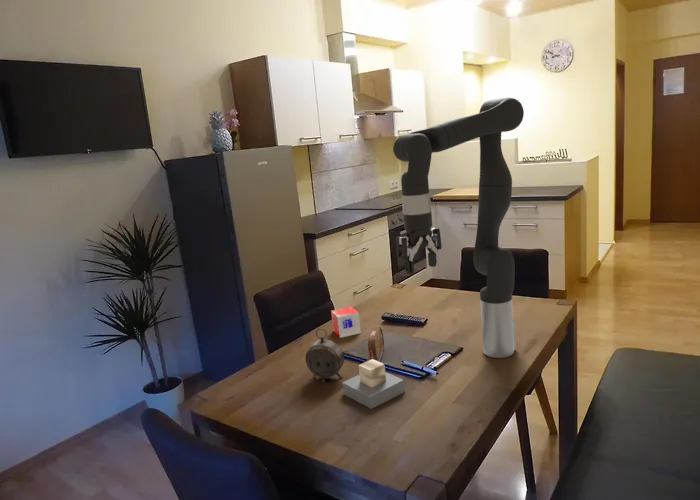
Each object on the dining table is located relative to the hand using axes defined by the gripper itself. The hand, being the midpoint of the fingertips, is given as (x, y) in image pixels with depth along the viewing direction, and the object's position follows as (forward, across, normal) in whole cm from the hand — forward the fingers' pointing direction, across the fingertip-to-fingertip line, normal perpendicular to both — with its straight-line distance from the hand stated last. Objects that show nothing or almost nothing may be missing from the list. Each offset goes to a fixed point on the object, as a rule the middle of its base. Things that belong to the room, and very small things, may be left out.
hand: (421, 269), depth 142 cm
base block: (+33, -16, +6) cm, 37 cm away
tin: (+32, 0, +23) cm, 40 cm away
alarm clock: (+32, -20, +23) cm, 44 cm away
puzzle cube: (+32, +7, +48) cm, 58 cm away
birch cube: (+29, -16, +6) cm, 33 cm away
